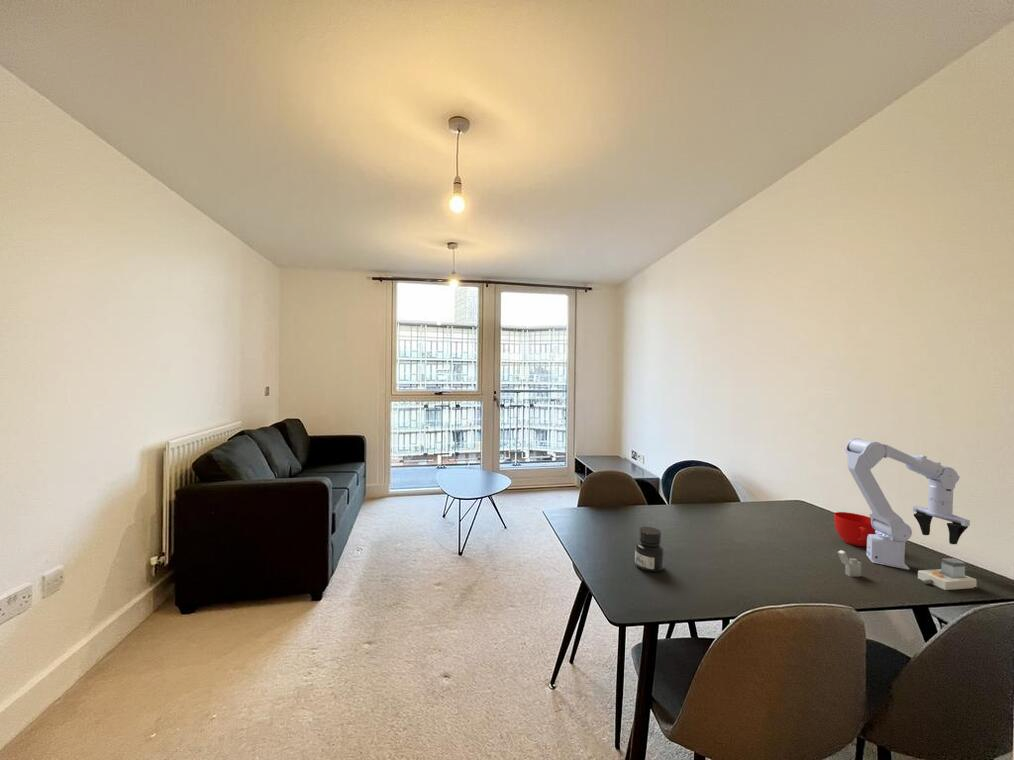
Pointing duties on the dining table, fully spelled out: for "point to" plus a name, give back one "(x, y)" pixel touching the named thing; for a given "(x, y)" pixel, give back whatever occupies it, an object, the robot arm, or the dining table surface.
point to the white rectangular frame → (945, 580)
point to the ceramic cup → (853, 527)
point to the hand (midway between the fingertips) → (939, 539)
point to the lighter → (850, 564)
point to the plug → (953, 568)
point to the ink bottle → (649, 550)
